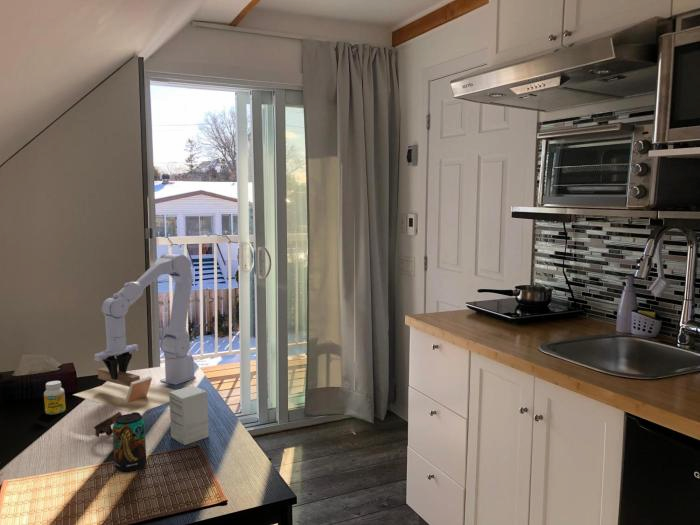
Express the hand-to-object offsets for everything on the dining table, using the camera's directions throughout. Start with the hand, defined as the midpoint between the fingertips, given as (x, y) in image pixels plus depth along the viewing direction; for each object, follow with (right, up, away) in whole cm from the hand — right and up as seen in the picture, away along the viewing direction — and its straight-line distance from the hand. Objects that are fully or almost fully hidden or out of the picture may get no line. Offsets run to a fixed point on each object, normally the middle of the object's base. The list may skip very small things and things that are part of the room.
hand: (118, 377), depth 182 cm
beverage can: (+22, -12, -47) cm, 53 cm away
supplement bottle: (-13, -8, -13) cm, 20 cm away
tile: (+8, -3, -5) cm, 10 cm away
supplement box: (+31, -10, -31) cm, 45 cm away
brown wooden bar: (0, -1, 0) cm, 1 cm away
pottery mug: (+13, -10, -31) cm, 35 cm away
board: (+4, -6, +1) cm, 8 cm away
